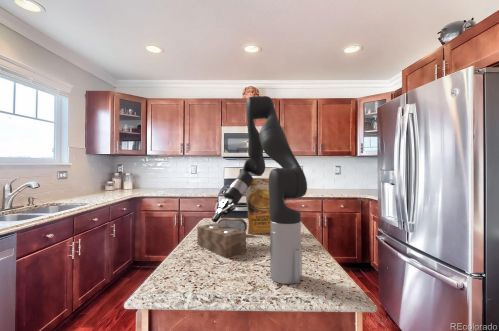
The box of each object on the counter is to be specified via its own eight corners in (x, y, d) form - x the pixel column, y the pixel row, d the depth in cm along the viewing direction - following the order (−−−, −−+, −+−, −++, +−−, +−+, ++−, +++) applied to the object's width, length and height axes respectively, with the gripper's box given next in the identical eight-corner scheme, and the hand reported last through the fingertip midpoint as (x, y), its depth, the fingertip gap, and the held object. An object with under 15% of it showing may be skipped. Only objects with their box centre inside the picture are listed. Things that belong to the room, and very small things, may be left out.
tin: (247, 234, 126) (247, 217, 127) (246, 236, 123) (246, 219, 123) (217, 233, 128) (217, 217, 128) (216, 235, 125) (216, 218, 125)
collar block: (245, 252, 100) (246, 231, 100) (225, 257, 93) (225, 236, 93) (216, 240, 116) (216, 223, 116) (197, 244, 109) (197, 226, 109)
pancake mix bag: (243, 231, 132) (243, 178, 132) (277, 229, 136) (277, 178, 137) (245, 235, 125) (245, 178, 126) (281, 232, 130) (281, 178, 130)
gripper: (223, 185, 120) (200, 213, 112) (240, 186, 110) (216, 218, 102) (232, 195, 124) (210, 224, 115) (249, 197, 114) (227, 229, 105)
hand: (213, 221), depth 109 cm, fingers closed
